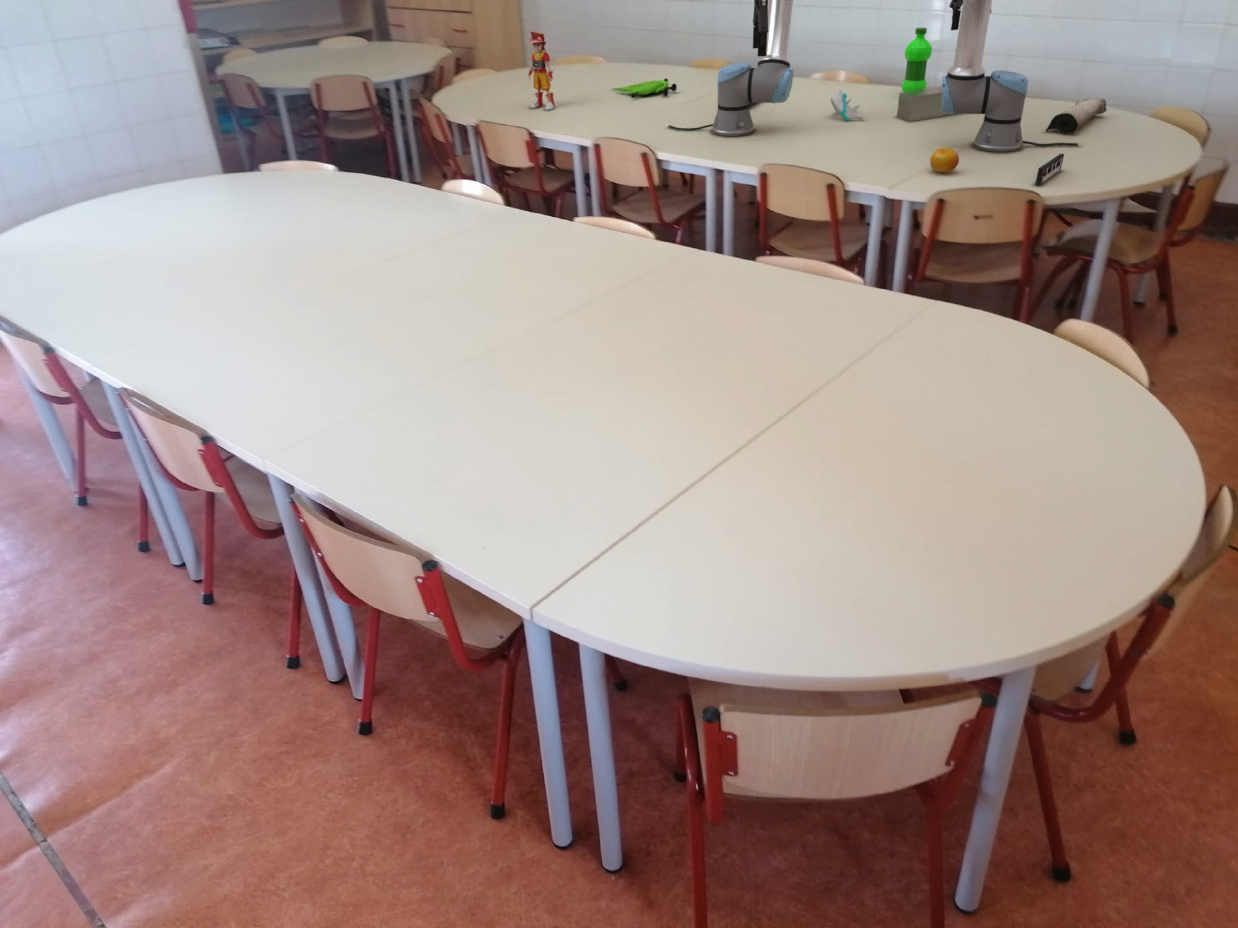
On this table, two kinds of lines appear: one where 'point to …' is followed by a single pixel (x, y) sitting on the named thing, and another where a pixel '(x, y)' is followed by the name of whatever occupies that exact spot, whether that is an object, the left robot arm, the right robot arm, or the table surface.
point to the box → (921, 104)
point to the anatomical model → (845, 107)
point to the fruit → (944, 160)
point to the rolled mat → (1077, 115)
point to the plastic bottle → (916, 61)
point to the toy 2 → (648, 88)
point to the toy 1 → (541, 71)
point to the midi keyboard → (1049, 169)
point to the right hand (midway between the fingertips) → (966, 32)
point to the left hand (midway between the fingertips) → (759, 52)
